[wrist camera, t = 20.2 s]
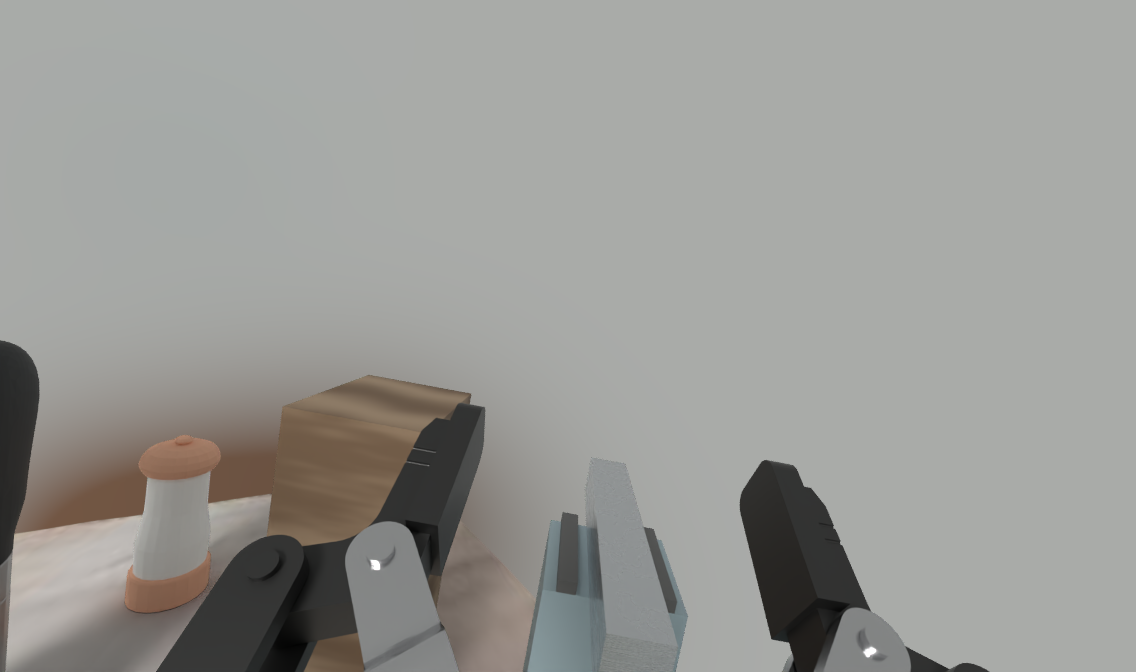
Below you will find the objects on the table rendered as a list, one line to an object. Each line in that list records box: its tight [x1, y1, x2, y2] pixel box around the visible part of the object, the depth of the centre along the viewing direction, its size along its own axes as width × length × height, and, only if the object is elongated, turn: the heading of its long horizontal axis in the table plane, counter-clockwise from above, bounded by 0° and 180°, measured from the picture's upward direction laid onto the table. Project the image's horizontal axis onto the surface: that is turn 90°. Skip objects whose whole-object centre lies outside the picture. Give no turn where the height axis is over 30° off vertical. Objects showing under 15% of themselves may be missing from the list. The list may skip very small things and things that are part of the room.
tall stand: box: [267, 375, 471, 672], centre depth 36 cm, size 14×11×32 cm
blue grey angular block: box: [523, 512, 688, 672], centre depth 38 cm, size 10×11×22 cm
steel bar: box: [585, 458, 678, 672], centre depth 37 cm, size 26×4×4 cm, turn 179°
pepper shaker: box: [125, 435, 221, 613], centre depth 50 cm, size 7×7×19 cm
